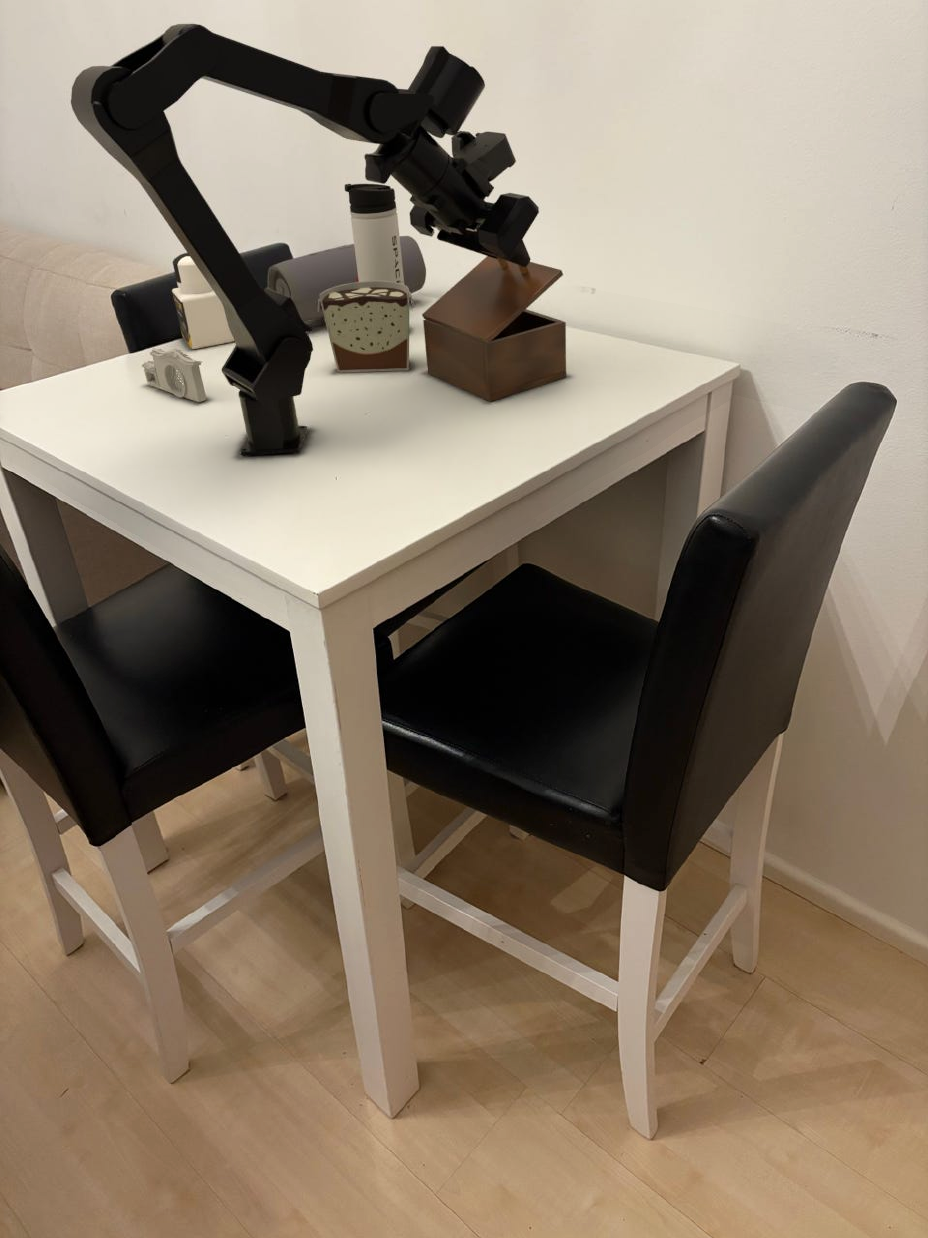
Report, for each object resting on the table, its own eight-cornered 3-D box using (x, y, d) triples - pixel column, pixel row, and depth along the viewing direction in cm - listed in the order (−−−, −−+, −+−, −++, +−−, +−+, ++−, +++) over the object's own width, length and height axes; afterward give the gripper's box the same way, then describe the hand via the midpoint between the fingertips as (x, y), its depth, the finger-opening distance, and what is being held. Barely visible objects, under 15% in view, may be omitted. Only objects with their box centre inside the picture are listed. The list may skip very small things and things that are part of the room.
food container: (426, 354, 130) (419, 277, 124) (420, 369, 125) (412, 290, 119) (336, 356, 131) (325, 281, 126) (326, 372, 126) (315, 294, 121)
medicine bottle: (182, 337, 143) (163, 253, 137) (229, 328, 146) (212, 245, 139) (192, 350, 138) (172, 263, 131) (241, 340, 140) (224, 254, 134)
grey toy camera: (145, 386, 126) (134, 341, 123) (157, 381, 128) (146, 337, 124) (199, 404, 119) (188, 357, 116) (210, 399, 121) (200, 353, 117)
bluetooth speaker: (300, 338, 139) (289, 267, 133) (272, 325, 145) (259, 256, 140) (431, 304, 149) (425, 236, 144) (399, 293, 156) (392, 227, 150)
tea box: (500, 351, 129) (498, 299, 125) (566, 377, 119) (566, 321, 115) (427, 373, 123) (422, 319, 120) (490, 401, 114) (487, 344, 110)
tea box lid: (494, 255, 122) (479, 224, 118) (563, 274, 112) (549, 241, 109) (423, 318, 120) (407, 289, 117) (488, 343, 110) (471, 311, 107)
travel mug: (358, 330, 141) (339, 181, 129) (402, 323, 142) (387, 175, 131) (368, 342, 136) (349, 188, 124) (413, 335, 137) (399, 182, 126)
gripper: (521, 112, 97) (603, 210, 108) (422, 103, 110) (503, 191, 121) (462, 209, 98) (549, 296, 109) (370, 188, 111) (456, 268, 122)
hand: (514, 259), depth 115 cm, fingers closed on tea box lid, 5 cm apart
